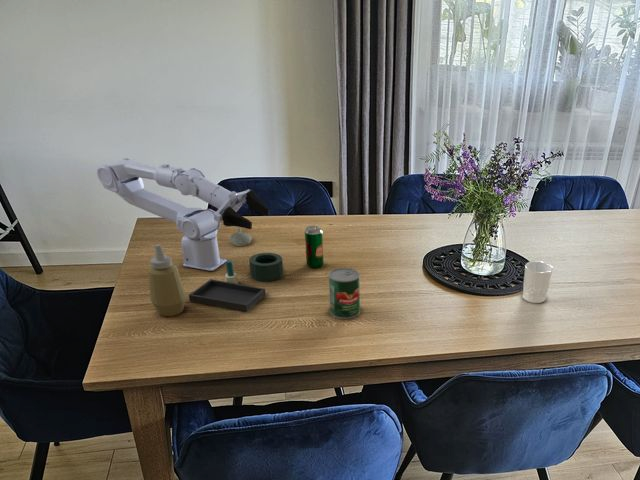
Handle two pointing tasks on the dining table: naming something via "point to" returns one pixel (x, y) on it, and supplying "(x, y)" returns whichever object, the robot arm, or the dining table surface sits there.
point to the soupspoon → (240, 238)
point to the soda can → (314, 247)
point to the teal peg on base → (230, 273)
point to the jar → (266, 267)
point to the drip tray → (227, 295)
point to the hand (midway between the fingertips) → (260, 219)
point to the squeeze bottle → (165, 284)
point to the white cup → (536, 281)
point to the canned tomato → (344, 293)
